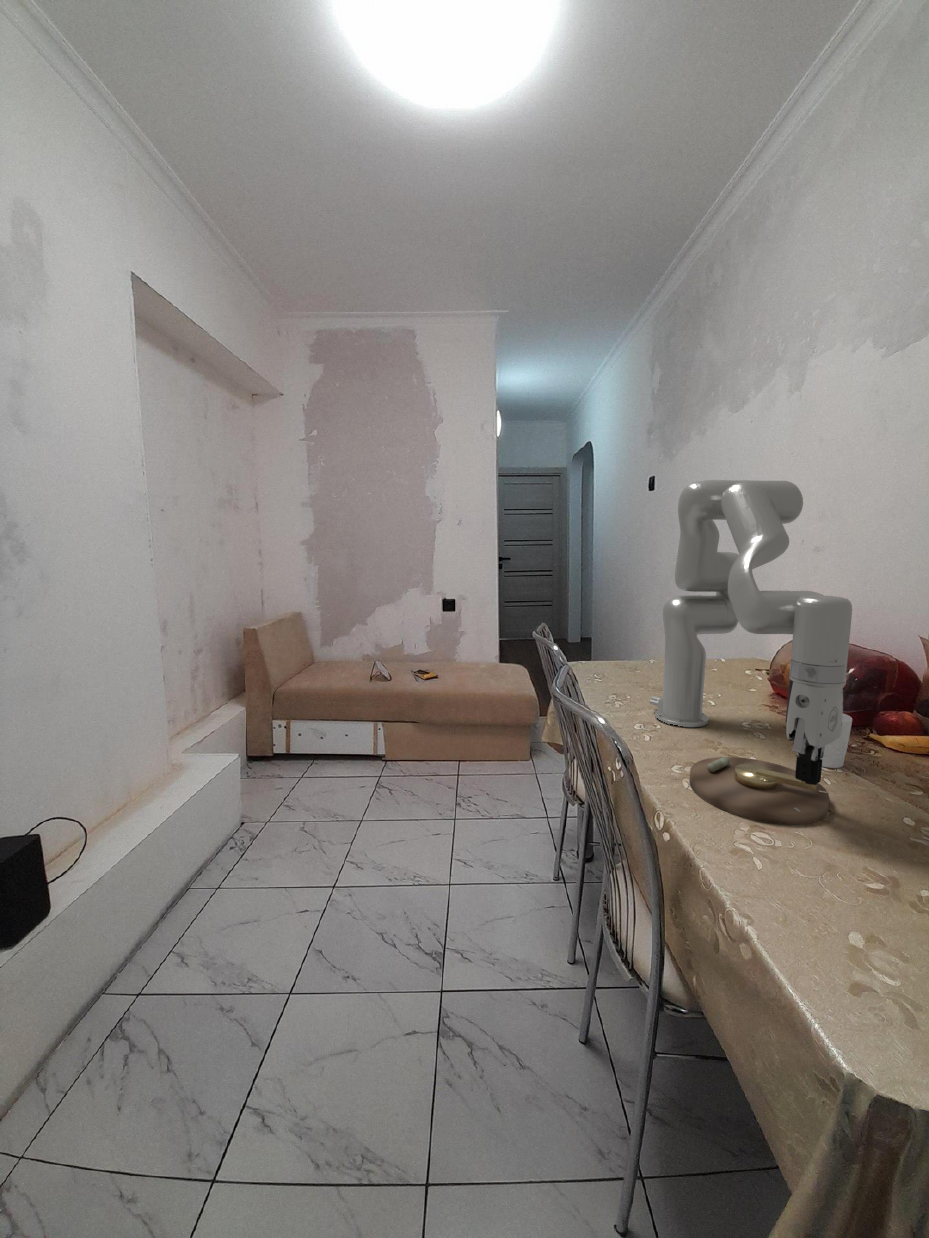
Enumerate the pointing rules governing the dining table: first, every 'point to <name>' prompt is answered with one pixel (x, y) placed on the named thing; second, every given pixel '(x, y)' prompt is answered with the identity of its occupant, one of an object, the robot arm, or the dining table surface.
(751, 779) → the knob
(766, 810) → the base plate
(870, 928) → the dining table surface
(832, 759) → the white cup
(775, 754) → the dining table surface
